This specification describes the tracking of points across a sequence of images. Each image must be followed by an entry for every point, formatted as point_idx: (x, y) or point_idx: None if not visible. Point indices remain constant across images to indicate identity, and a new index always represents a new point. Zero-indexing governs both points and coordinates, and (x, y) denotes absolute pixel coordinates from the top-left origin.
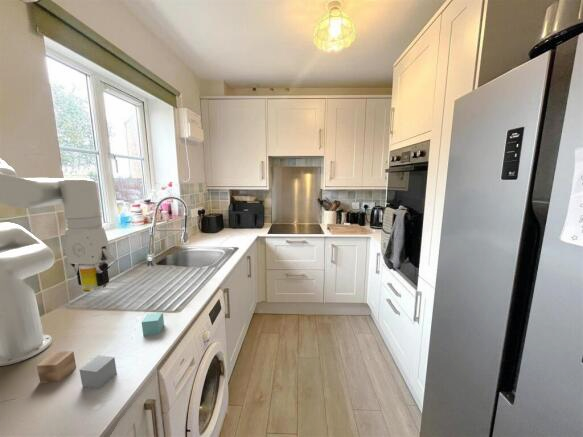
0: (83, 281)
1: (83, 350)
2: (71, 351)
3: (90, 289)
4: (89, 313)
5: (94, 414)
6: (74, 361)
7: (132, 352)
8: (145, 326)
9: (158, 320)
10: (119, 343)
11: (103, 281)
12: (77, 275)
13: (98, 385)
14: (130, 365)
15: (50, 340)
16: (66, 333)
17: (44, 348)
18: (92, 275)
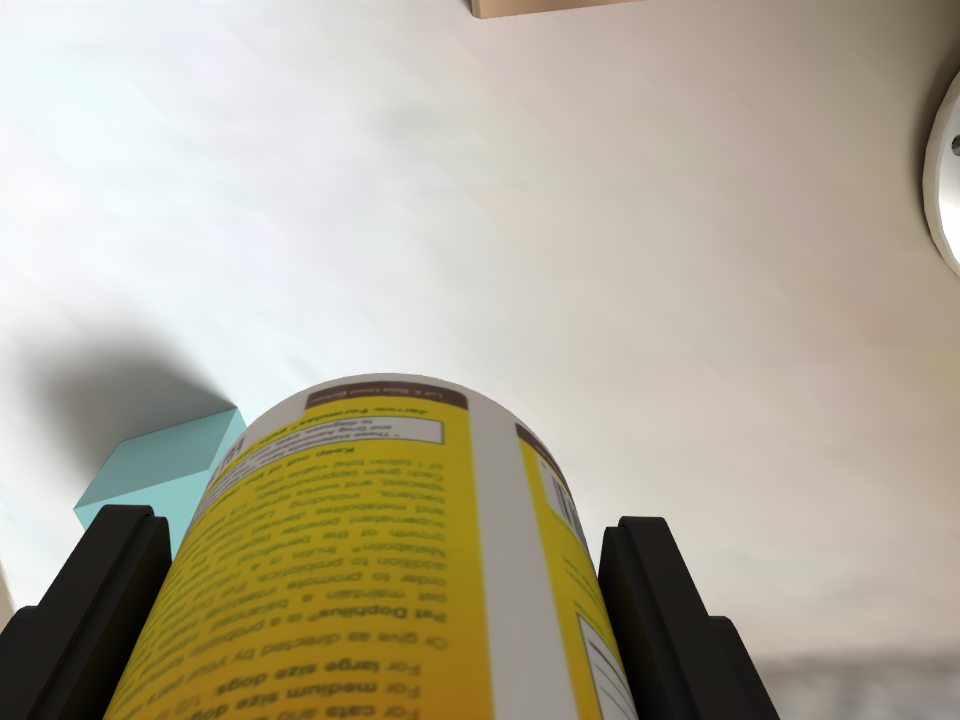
0: (399, 503)
1: (588, 198)
2: (495, 13)
3: (288, 418)
4: (940, 607)
5: None
6: (474, 10)
7: (148, 213)
8: (194, 453)
9: (84, 515)
10: (357, 302)
11: (19, 615)
12: (718, 674)
13: None
14: (25, 70)
15: (951, 255)
16: (916, 370)
17: (926, 176)
18: (139, 681)
